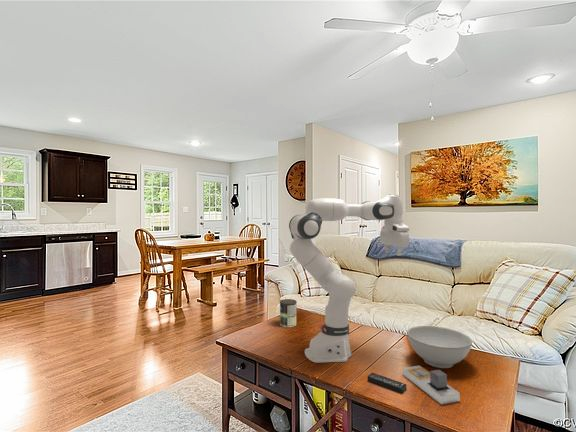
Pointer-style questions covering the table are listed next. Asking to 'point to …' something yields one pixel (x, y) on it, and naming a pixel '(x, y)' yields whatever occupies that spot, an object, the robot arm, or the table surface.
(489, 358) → the table surface
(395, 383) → the multiport hub
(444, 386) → the square peg
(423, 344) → the decorative bowl
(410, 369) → the rail
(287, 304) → the coffee can
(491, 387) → the table surface
